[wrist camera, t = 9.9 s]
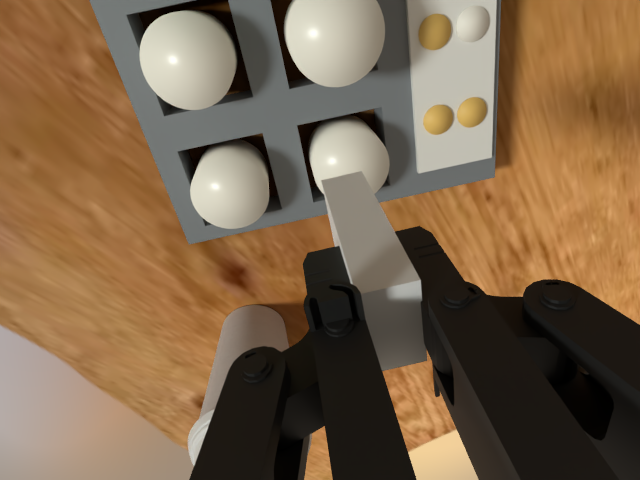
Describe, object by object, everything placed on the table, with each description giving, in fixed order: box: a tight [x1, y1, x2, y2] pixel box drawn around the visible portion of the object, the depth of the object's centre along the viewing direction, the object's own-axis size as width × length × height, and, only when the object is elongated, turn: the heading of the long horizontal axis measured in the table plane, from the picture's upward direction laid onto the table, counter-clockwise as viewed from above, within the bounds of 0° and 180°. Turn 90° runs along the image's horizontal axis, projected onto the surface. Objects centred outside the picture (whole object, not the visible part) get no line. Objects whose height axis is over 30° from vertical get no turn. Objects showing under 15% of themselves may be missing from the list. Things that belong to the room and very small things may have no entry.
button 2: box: [139, 10, 238, 110], centre depth 28 cm, size 6×6×4 cm
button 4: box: [284, 0, 385, 87], centre depth 26 cm, size 6×6×4 cm
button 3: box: [308, 114, 390, 194], centre depth 32 cm, size 6×6×4 cm
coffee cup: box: [188, 305, 312, 465], centre depth 38 cm, size 10×10×15 cm
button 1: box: [190, 139, 269, 229], centre depth 32 cm, size 6×6×4 cm
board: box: [90, 0, 501, 244], centre depth 31 cm, size 18×26×4 cm
